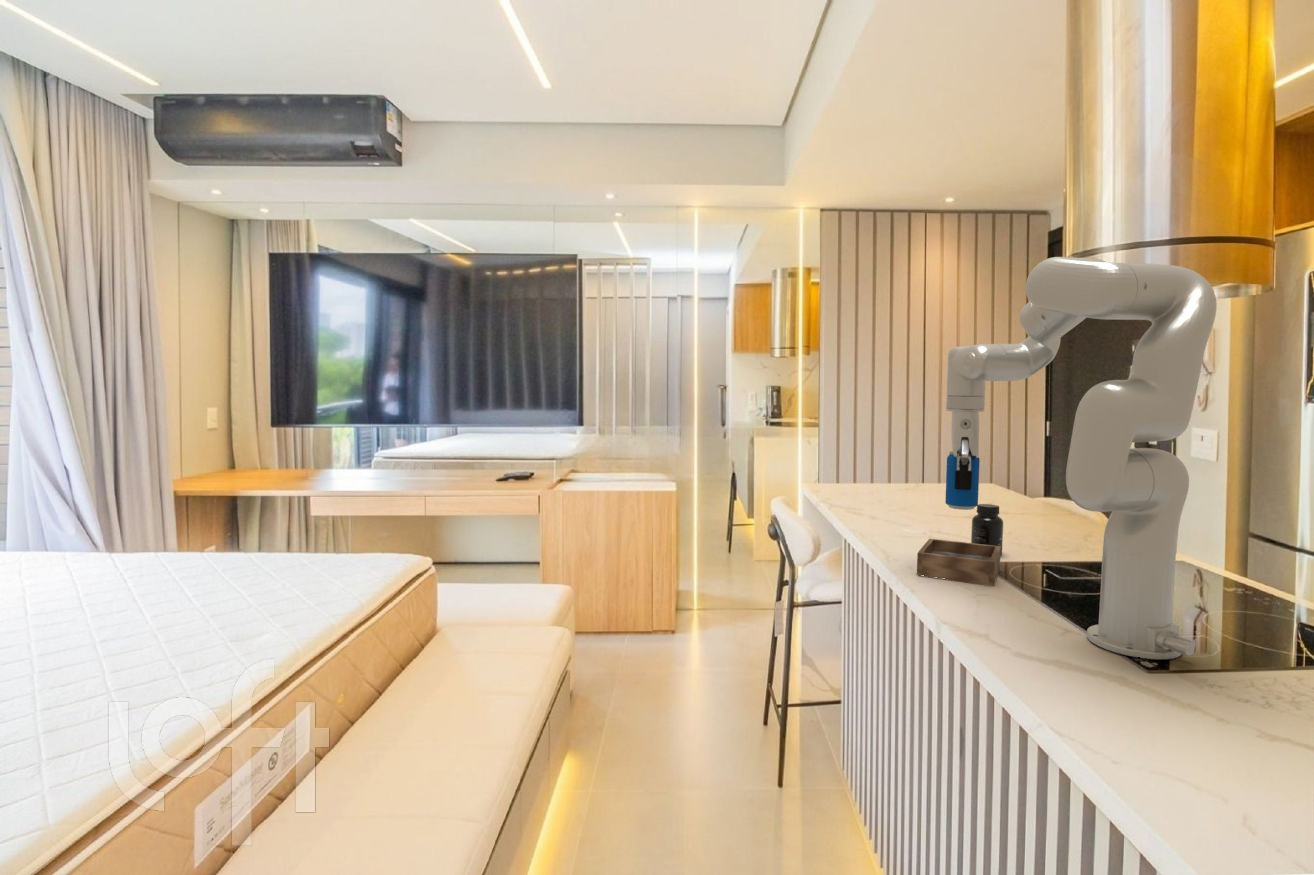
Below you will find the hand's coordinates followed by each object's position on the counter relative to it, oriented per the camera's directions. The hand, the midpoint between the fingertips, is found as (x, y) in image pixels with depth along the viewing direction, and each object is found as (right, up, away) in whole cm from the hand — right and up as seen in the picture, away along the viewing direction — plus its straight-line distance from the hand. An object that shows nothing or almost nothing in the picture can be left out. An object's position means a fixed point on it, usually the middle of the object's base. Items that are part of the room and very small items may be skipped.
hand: (962, 486), depth 150 cm
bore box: (0, -19, +2) cm, 19 cm away
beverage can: (0, -5, 0) cm, 5 cm away
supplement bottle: (+13, -18, +16) cm, 27 cm away
